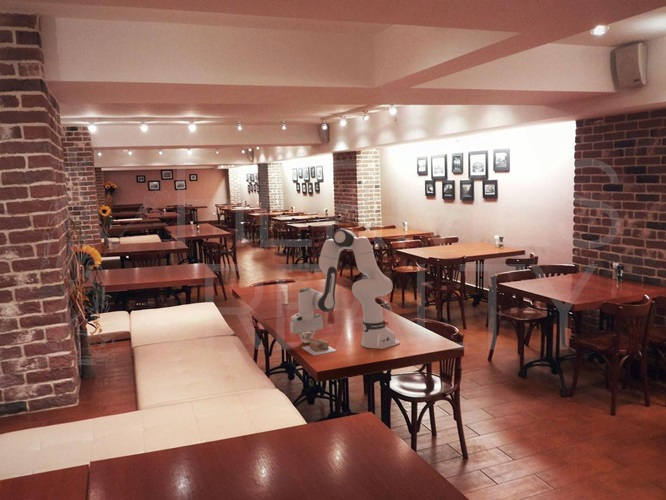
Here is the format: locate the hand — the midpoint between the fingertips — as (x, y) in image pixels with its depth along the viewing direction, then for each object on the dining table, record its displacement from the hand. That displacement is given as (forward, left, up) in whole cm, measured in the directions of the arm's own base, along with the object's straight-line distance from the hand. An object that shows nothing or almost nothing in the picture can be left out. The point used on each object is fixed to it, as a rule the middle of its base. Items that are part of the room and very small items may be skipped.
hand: (307, 338), depth 312 cm
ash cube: (0, 0, -2) cm, 2 cm away
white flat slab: (0, +16, -3) cm, 16 cm away
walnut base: (0, +16, -3) cm, 16 cm away
